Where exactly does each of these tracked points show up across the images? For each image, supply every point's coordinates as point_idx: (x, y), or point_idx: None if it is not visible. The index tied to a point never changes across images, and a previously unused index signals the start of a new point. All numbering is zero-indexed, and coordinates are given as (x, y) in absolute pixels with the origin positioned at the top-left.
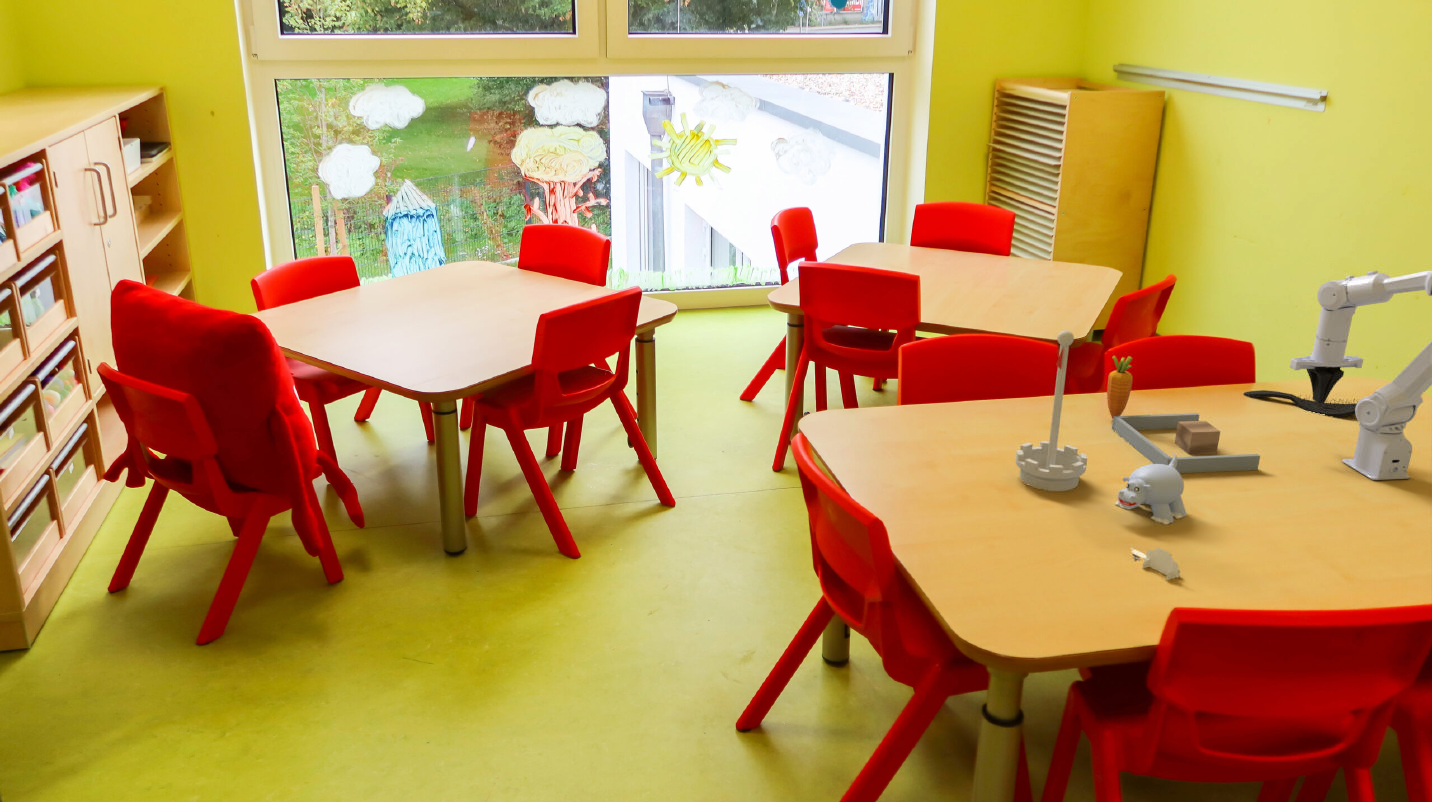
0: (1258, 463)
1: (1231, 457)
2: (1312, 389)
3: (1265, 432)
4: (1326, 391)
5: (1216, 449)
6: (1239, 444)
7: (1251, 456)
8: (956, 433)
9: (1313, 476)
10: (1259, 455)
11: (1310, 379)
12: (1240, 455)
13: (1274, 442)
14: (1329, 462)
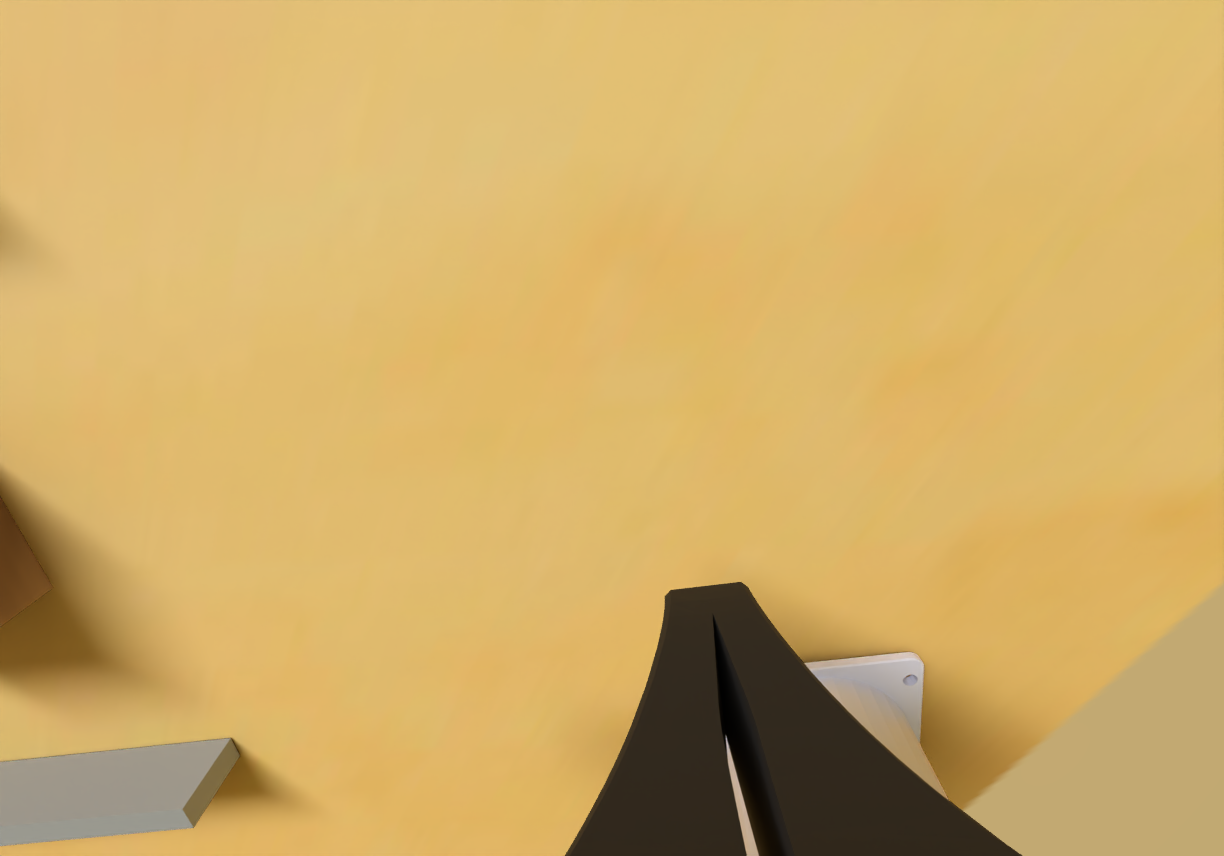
0: (218, 786)
1: (43, 838)
2: (650, 676)
3: (435, 228)
4: (755, 837)
5: (26, 604)
6: (202, 459)
7: (147, 830)
8: None
9: (480, 803)
10: (190, 825)
11: (597, 805)
12: (89, 826)
13: (437, 418)
14: (636, 674)
